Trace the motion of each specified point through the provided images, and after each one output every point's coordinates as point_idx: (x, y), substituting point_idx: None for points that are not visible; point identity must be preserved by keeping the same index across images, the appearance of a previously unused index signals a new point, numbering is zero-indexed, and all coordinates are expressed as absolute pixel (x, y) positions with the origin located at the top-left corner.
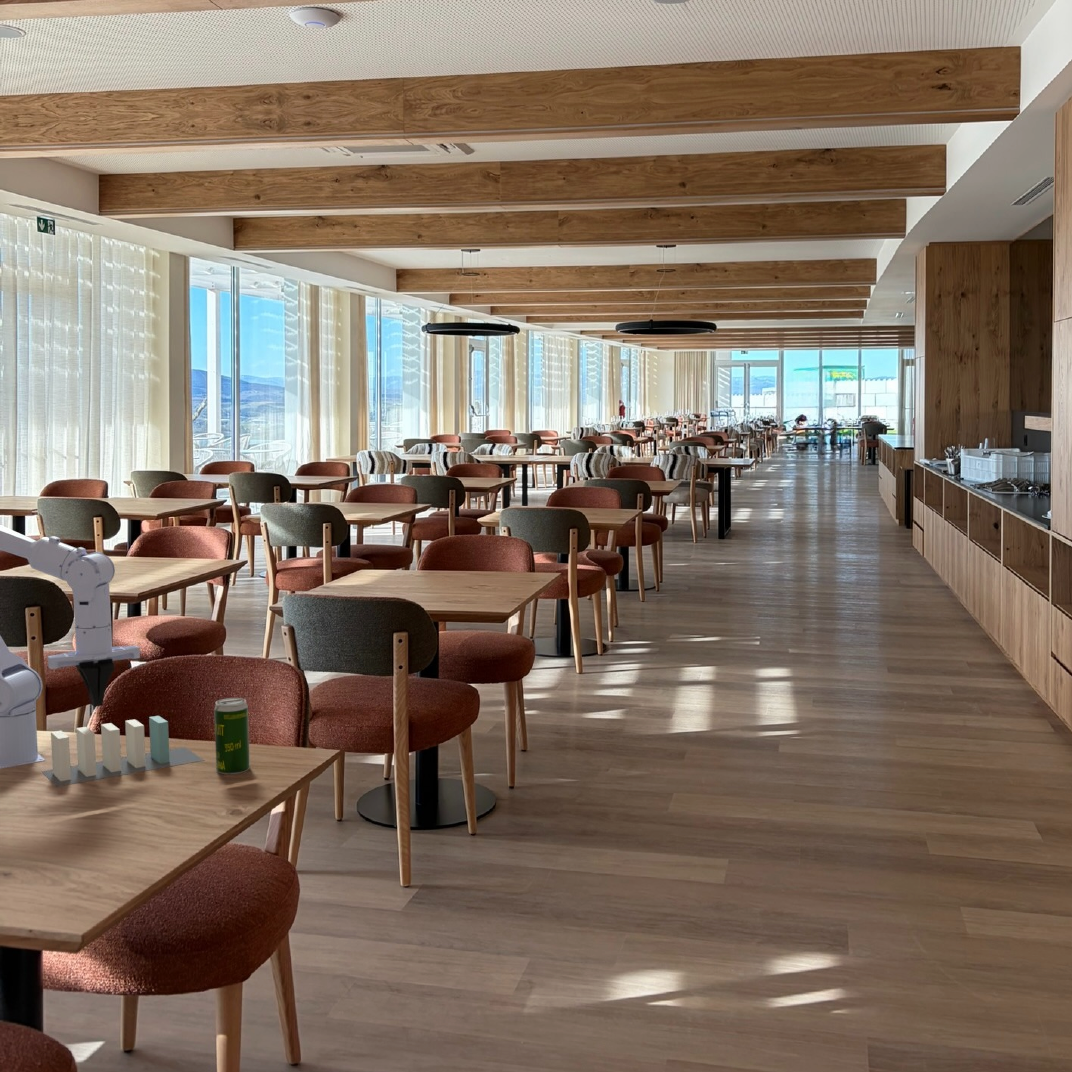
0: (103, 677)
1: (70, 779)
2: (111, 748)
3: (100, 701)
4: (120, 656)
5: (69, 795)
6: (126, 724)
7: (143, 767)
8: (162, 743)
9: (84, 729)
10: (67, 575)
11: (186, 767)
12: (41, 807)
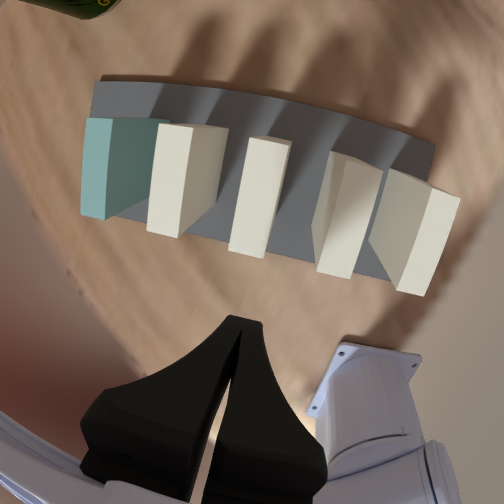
0: (190, 388)
1: (390, 168)
2: (286, 142)
3: (235, 324)
4: (33, 453)
5: (431, 85)
6: (182, 222)
7: (213, 119)
8: (139, 118)
9: (342, 240)
10: None
11: (136, 76)
12: (492, 72)
